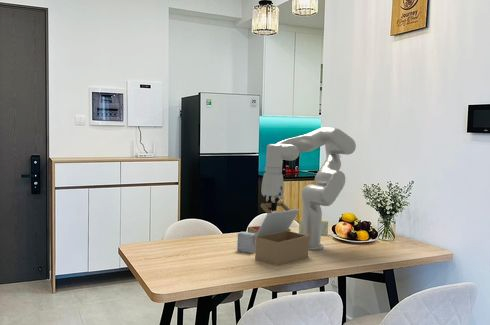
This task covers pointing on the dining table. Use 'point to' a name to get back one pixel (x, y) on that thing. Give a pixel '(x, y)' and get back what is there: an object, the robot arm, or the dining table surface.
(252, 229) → the hardcover book
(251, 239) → the medicine box
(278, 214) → the carton lid
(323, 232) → the candy box
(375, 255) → the dining table surface
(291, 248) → the carton
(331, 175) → the robot arm
